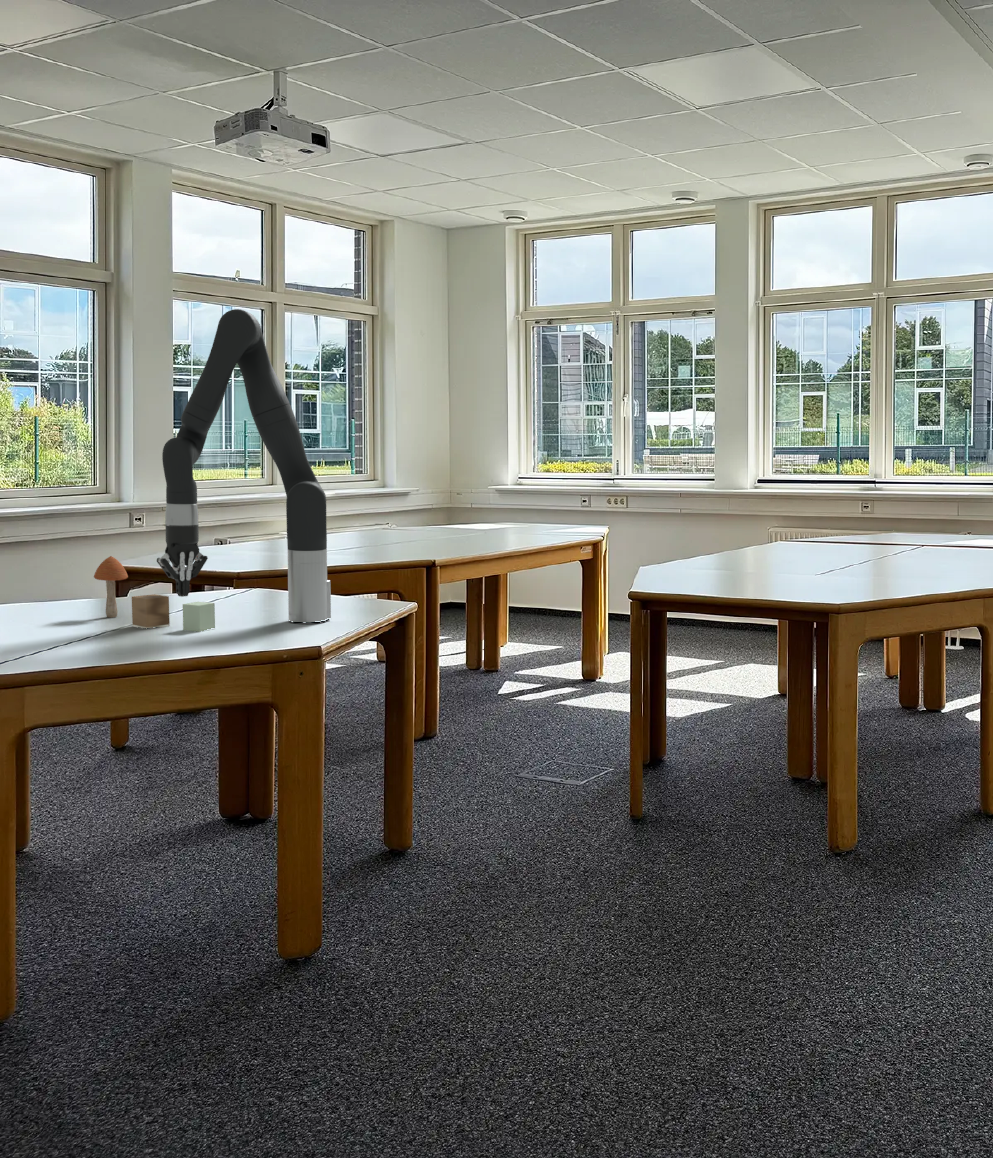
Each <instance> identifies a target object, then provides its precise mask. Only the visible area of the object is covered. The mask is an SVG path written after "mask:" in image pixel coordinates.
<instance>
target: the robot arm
mask: <svg viewBox="0 0 993 1158" xmlns="http://www.w3.org/2000/svg"><path fill="white" fill-rule="evenodd" d="M215 331H216V332H215V335H214V339H213V342H212V346H211V348H210V352H209V355H208V357H207V360H206V362H205V365H204V368H203V369H202V371H201V372H202V373H201V374H200V376H199V378H198V380H197V383H196V384H195V386H194V388H193V391H192V393H191V394H190V396H189V400H188V401H187V403H186V404H185V407H184V409H183V412H182V414H181V416H180V422H181V425H180V427H179V430H178V433H177V434H176V437H172V438H170V439H169V440H167V441H166V442H165V444H164V445H163V448H162V452H161V453H162V454H161V455H162V457H161V458H162V459H161V460H162V469H163V472H164V478H165V482H166V486H165V487H166V489H165V492H166V493H165V495H166V496H165V498H166V499H165V501H166V502H165V503H166V506H165V511H164V512H165V513H164V514H165V515H164V516H165V517H164V518H165V522H164V523H165V526H164V527H165V543H166V547H165V550H164V554H162V556H161V557H157V558H156V562H157V564H158V565H159V567H160V568H161V570H163V572H164V573H165V575H166V576H167V577H168V578H169V579H173V580H175V593H176V595H177V596H178V597H181V598H182V597H188V596H189V594H190V591H191V589H190V586H191V585H190V583H191V582H190V581H191V579H193V578H197V576H198V575H199V573H200V572H201V570H202V569H203V567H204V565H205V564H206V562H207V561H208V559H209V558H208V556H207V555H204V554H202V552H200V548H199V545H198V544H199V541H200V540H199V539H200V537H199V536H200V535H199V509H198V508H199V507H198V488H197V487H198V486H197V481H196V480H195V479H194V472H193V471H194V470H193V465H195V464H196V463H197V462H198V460H199V459H200V457H201V455H202V452H203V450H204V447H205V444H206V441H207V437H208V433H209V431H210V428H211V427H212V425H213V423H214V421H215V418H216V417H217V416H218V415H217V414H218V412H219V410H220V408H221V406H222V404H223V400H224V398H225V394H226V392H227V388H228V385H229V382H230V379H231V376H232V374H233V372H234V370H235V368H236V366H238V368H239V371H240V373H241V376H242V378H243V379H242V380H243V383H244V384H243V385H244V387H245V394H246V398H247V403H248V407H249V410H250V413H251V416H252V419H253V422H254V424H255V426H256V429H257V431H258V434H259V437H260V438H261V440H262V442H263V444H264V446H265V448H266V450H267V452H268V453H269V455H270V456H271V458H272V460H273V461H274V464H275V466H276V467H277V470H278V472H279V475H280V478H281V482H282V483H283V484H282V485H283V488H284V491H285V496H286V506H285V507H286V509H285V510H286V512H285V513H286V515H285V517H286V544H287V593H288V594H287V595H288V596H287V597H288V598H287V601H288V602H287V603H288V604H287V605H288V608H287V609H288V621H289V620H290V621H293V622H315V621H321V620H325V619H327V618H331V619H332V603H331V602H332V599H331V598H332V594H331V589H332V587H331V580H330V579H328V551H327V548H328V547H327V543H328V542H327V541H328V532H327V530H328V529H327V496H326V493H325V491H324V489H323V487H322V486H321V484H320V482H319V481H318V479H317V477H316V475H315V473H314V471H313V468H312V467H311V465H310V462H309V460H308V457H307V454H306V451H305V446H304V442H303V439H302V436H301V435H302V434H301V431H300V428H299V425H298V422H297V419H296V416H295V413H294V410H293V409H292V406H291V404H290V401H289V398H288V397H287V394H286V391H285V389H284V387H283V384H282V383H281V381H280V379H279V377H278V375H277V373H276V371H275V369H274V366H273V365H272V363H271V360H270V356H269V353H268V350H267V346H266V343H265V339H264V335H263V332H262V327H261V324H260V322H259V320H258V319H257V317H256V316H254V314H252V313H250V312H248V311H246V310H244V309H239V308H235V309H234V308H233V309H230V310H228V311H226V312H225V313H224V314H222V315H221V316H220V319H218V324H217V327H216V330H215ZM170 563H171V564H170ZM293 622H292V623H293Z"/></svg>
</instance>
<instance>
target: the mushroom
mask: <svg viewBox="0 0 993 1158" xmlns="http://www.w3.org/2000/svg"><path fill="white" fill-rule="evenodd" d="M128 578H129V575H128V573H127V570H126V569H125V567H124V566H123V565H122V563H121V562H120V561H119V560H118V559H117V558H116V557H114V556H112V555H110V556H108V557H107V558H105V559H104V560H103V561H102V562H101V563H100V564H99V565H98V566H97V568H96V570H95V572H94V575H93V579H95V580H98V581H105V587H106V588H105V589H106V590H105V591H106V603H105V615H106V618H110V619H111V618H117V617H118V611H119V610H118V603H117V598H116V581H124V580H127V579H128Z"/></svg>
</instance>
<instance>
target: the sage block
mask: <svg viewBox="0 0 993 1158" xmlns="http://www.w3.org/2000/svg"><path fill="white" fill-rule="evenodd" d="M215 615H216V607H215V602H207V601H206V602H205V601H193V602H189V603H188V602H187V603H182V630H183V631H186V630H187V631H189V632H196V631H197V633H201V631H202V632H205V631H204V630H207V629H211V628H215V629H216V616H215ZM207 631H208V630H207Z"/></svg>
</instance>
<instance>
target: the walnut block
mask: <svg viewBox="0 0 993 1158" xmlns="http://www.w3.org/2000/svg"><path fill="white" fill-rule="evenodd" d="M169 600H170V597H169V596H168V595H161V594H156V593H154V594H144V595H136V596H131V614H132V615H131V618H132V621H131V622H132V624H131V625H132V627H134V628H138V627H141V628H140V629H143V628H146V629H145V630H148V629H147V628H152V629H154V628H153V627H160V628H167V626H168V627H171V626H170V624H171V623H170V622H171V621H170V601H169Z"/></svg>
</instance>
